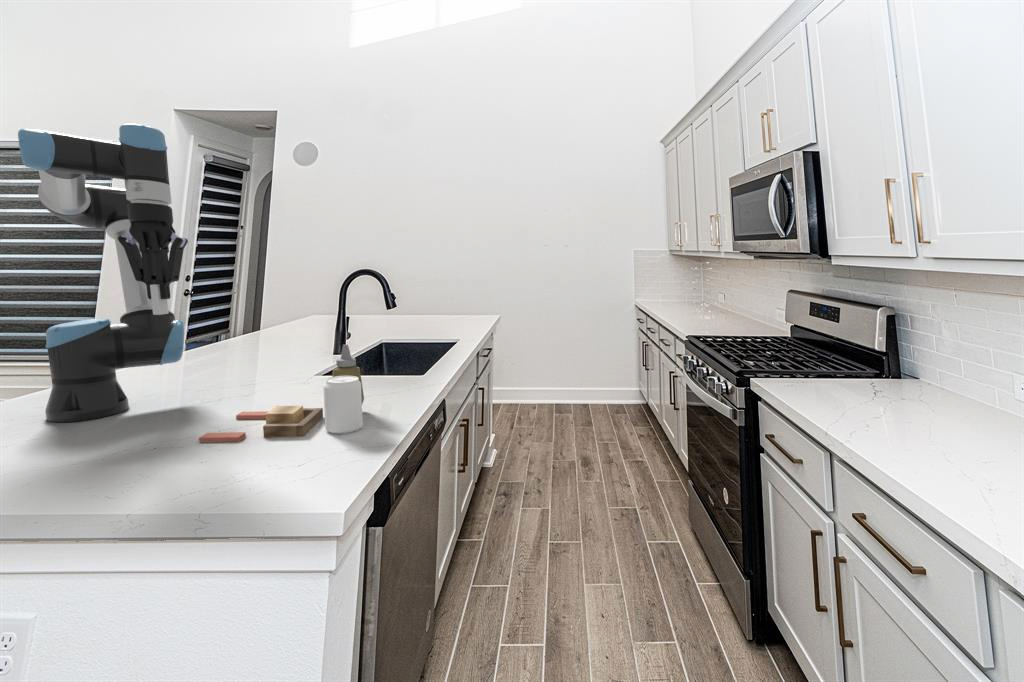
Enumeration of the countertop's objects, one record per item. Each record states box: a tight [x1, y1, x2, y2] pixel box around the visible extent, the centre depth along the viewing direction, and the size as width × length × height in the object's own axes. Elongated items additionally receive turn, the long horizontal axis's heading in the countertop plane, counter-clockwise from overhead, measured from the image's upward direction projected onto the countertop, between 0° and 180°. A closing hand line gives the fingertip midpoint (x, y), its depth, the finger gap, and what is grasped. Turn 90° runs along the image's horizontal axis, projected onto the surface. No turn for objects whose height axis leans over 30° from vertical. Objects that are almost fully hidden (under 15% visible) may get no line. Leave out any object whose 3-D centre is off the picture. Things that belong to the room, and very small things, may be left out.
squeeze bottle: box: [331, 344, 365, 405], centre depth 114 cm, size 8×8×18 cm
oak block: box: [265, 405, 304, 424], centre depth 104 cm, size 6×6×4 cm
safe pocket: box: [262, 407, 324, 438], centre depth 105 cm, size 8×13×2 cm, turn 5°
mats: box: [198, 410, 270, 443], centre depth 104 cm, size 8×18×1 cm, turn 5°
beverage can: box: [323, 376, 363, 435], centre depth 103 cm, size 8×8×12 cm
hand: (160, 314), depth 99 cm, fingers closed
